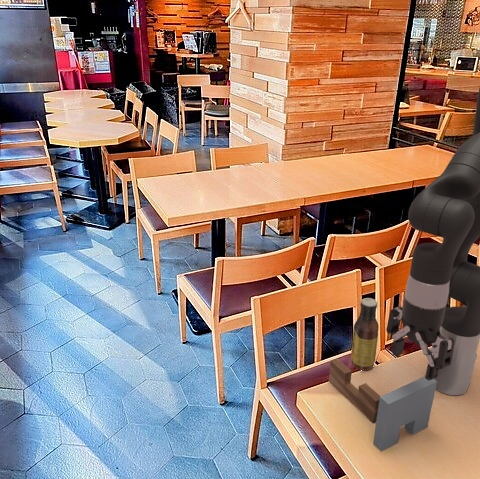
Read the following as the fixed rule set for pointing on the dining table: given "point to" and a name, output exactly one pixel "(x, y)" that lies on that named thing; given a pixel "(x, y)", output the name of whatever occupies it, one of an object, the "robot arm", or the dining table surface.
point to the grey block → (404, 411)
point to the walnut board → (354, 390)
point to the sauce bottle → (365, 336)
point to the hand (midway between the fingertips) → (413, 366)
